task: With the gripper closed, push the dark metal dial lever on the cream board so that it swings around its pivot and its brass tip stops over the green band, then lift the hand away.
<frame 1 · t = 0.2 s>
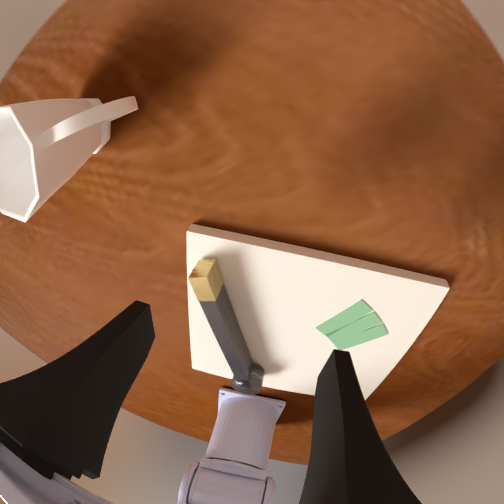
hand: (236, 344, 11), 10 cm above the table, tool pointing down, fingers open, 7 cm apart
lever: (231, 340, 23), point 2 cm above the table, hinge at 20.0°
cup: (105, 118, 17), on the table
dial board: (301, 333, 24), on the table
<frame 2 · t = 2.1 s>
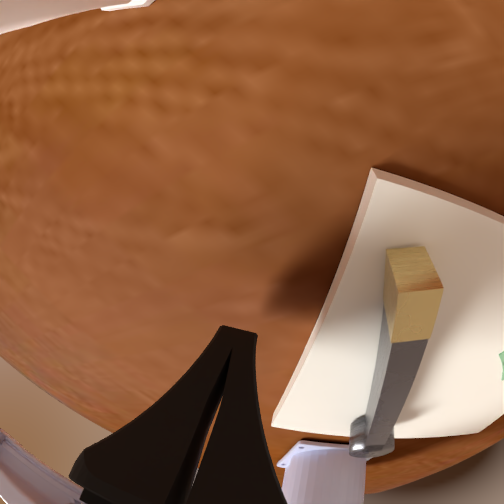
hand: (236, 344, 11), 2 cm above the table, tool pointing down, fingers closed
lever: (386, 395, 11), point 2 cm above the table, hinge at 20.0°
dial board: (462, 365, 12), on the table
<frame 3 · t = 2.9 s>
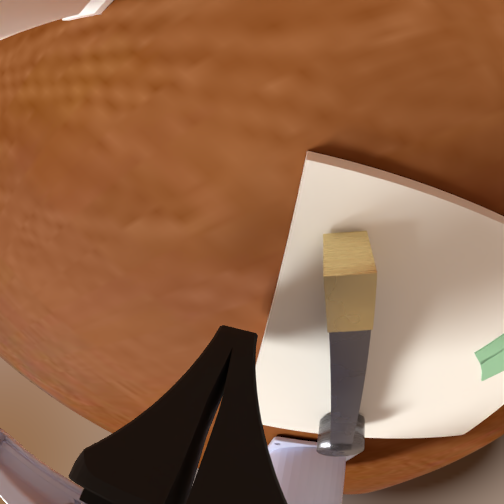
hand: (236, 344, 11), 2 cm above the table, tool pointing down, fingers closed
lever: (345, 391, 11), point 2 cm above the table, hinge at 20.0°
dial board: (436, 363, 12), on the table
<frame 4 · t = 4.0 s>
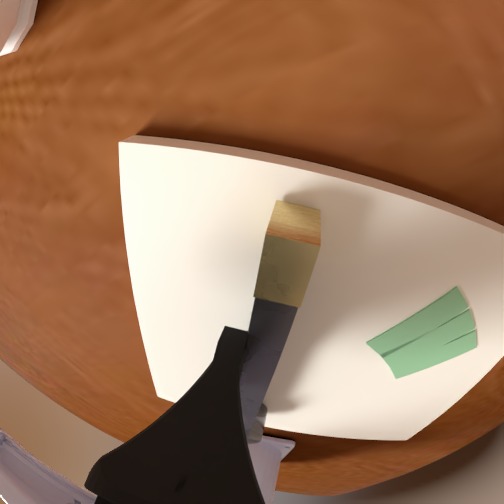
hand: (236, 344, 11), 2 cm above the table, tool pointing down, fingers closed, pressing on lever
lever: (255, 372, 12), point 2 cm above the table, hinge at -0.3°, touching gripper
cup: (33, 0, 6), on the table
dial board: (333, 352, 13), on the table
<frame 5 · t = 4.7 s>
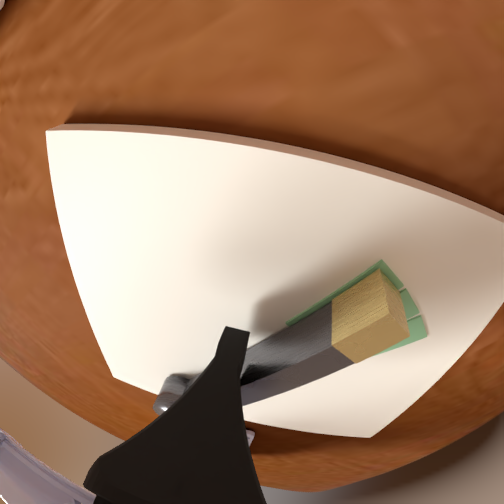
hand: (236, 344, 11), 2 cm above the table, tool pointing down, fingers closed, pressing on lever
lever: (244, 378, 12), point 2 cm above the table, hinge at -33.3°, touching gripper
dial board: (263, 334, 13), on the table
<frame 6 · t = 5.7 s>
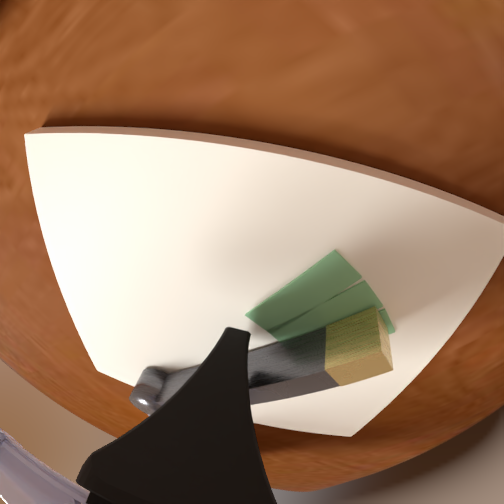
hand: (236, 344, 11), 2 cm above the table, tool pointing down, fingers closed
lever: (228, 383, 12), point 2 cm above the table, hinge at -44.7°, touching gripper
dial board: (229, 327, 13), on the table
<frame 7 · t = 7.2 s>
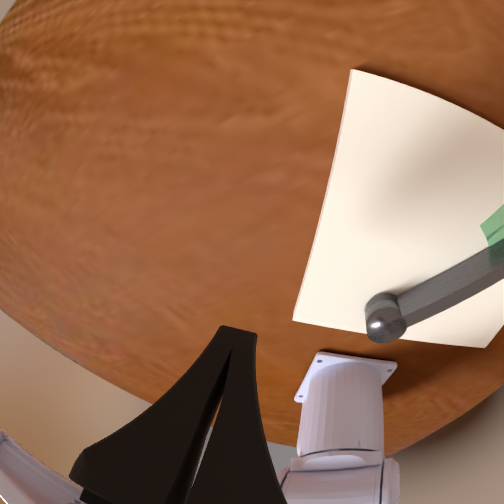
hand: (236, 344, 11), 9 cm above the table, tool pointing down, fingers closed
lever: (461, 282, 15), point 2 cm above the table, hinge at -45.0°
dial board: (452, 244, 16), on the table
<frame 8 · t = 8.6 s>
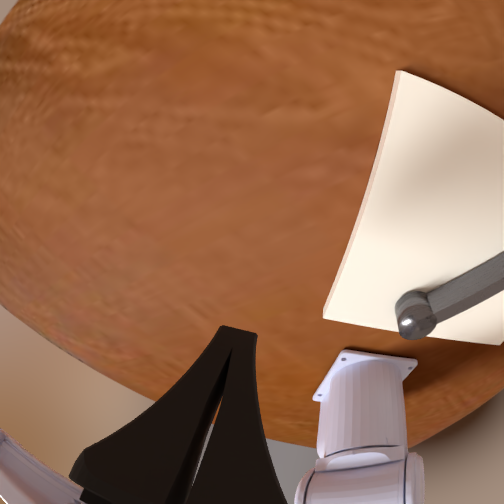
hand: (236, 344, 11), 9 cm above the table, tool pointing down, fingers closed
lever: (486, 280, 15), point 2 cm above the table, hinge at -45.0°
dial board: (478, 244, 16), on the table
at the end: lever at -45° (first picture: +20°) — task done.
